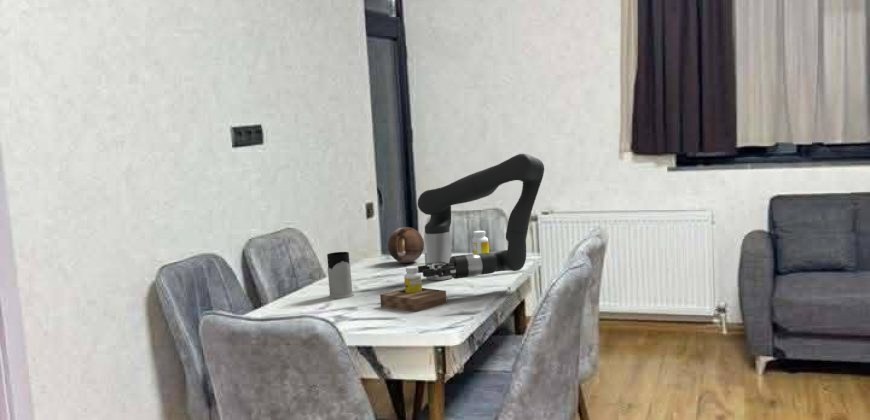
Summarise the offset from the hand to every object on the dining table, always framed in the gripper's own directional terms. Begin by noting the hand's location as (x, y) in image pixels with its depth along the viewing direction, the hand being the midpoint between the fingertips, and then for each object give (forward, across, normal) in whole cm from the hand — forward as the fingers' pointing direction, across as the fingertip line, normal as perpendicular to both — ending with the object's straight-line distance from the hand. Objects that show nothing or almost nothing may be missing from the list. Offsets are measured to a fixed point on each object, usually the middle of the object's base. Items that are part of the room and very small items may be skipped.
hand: (419, 271), depth 289 cm
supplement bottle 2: (-44, -58, +10) cm, 74 cm away
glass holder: (+21, -30, +10) cm, 38 cm away
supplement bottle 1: (+2, 0, +8) cm, 8 cm away
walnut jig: (+3, +3, +10) cm, 11 cm away
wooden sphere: (-19, -81, +10) cm, 83 cm away
